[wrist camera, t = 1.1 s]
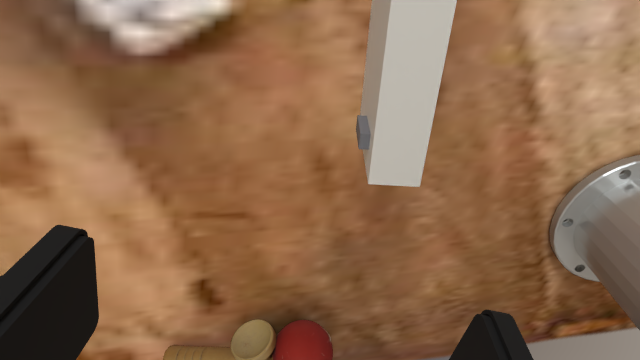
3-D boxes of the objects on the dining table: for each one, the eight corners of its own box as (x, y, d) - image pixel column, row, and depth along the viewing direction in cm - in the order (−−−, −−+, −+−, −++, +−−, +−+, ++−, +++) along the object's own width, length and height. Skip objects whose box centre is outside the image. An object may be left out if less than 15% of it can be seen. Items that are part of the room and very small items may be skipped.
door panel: (431, -89, 24) (478, -107, 17) (397, 127, 31) (419, 186, 23) (371, -92, 24) (390, -112, 17) (351, 125, 31) (357, 183, 23)
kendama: (198, 364, 48) (345, 359, 43) (169, 410, 42) (334, 412, 37) (176, 310, 46) (328, 299, 41) (142, 352, 40) (314, 345, 35)
